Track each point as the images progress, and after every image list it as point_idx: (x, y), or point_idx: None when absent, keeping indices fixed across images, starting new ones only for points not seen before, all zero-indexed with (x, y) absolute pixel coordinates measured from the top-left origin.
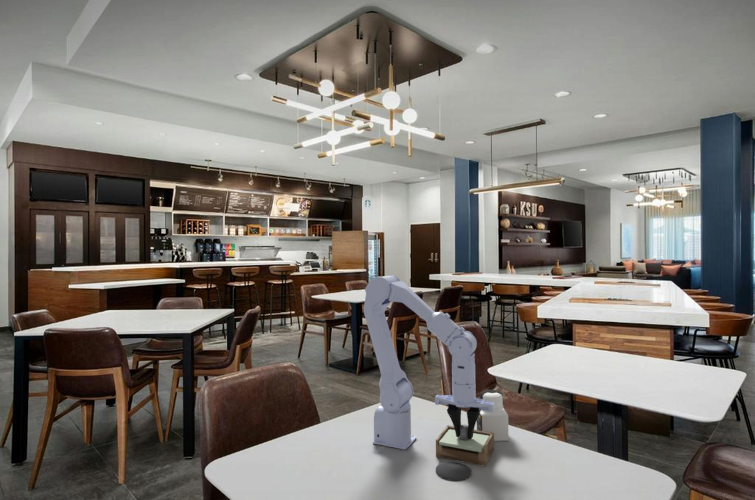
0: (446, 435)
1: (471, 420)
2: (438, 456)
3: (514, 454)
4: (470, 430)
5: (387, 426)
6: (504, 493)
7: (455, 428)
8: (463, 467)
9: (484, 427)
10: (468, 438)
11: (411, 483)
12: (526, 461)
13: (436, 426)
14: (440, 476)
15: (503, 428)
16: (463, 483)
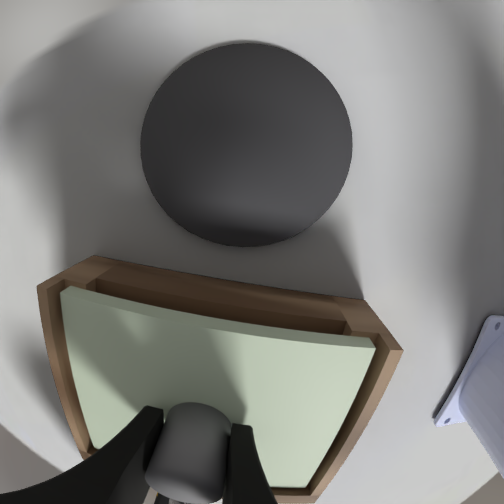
0: (321, 437)
1: (60, 498)
2: (352, 299)
3: (42, 376)
4: (117, 443)
5: None
6: (34, 58)
7: (253, 470)
8: (187, 187)
9: (145, 499)
10: (160, 411)
11: (416, 12)
12: (3, 329)
13: (347, 500)
14: (308, 64)
15: None
16: (179, 43)
